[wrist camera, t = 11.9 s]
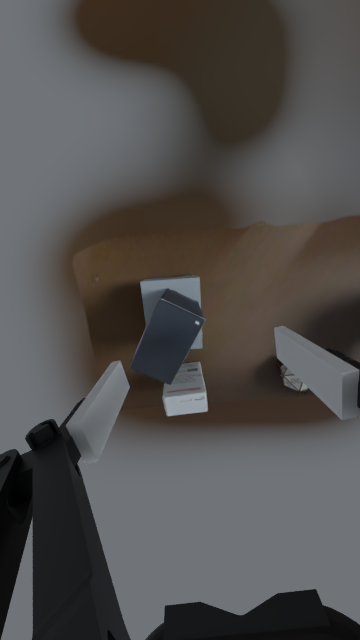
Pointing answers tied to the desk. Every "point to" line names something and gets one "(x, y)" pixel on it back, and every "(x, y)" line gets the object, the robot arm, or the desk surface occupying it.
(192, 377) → the ink box
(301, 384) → the game die
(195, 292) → the grey slab
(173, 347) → the small box
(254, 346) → the desk surface
